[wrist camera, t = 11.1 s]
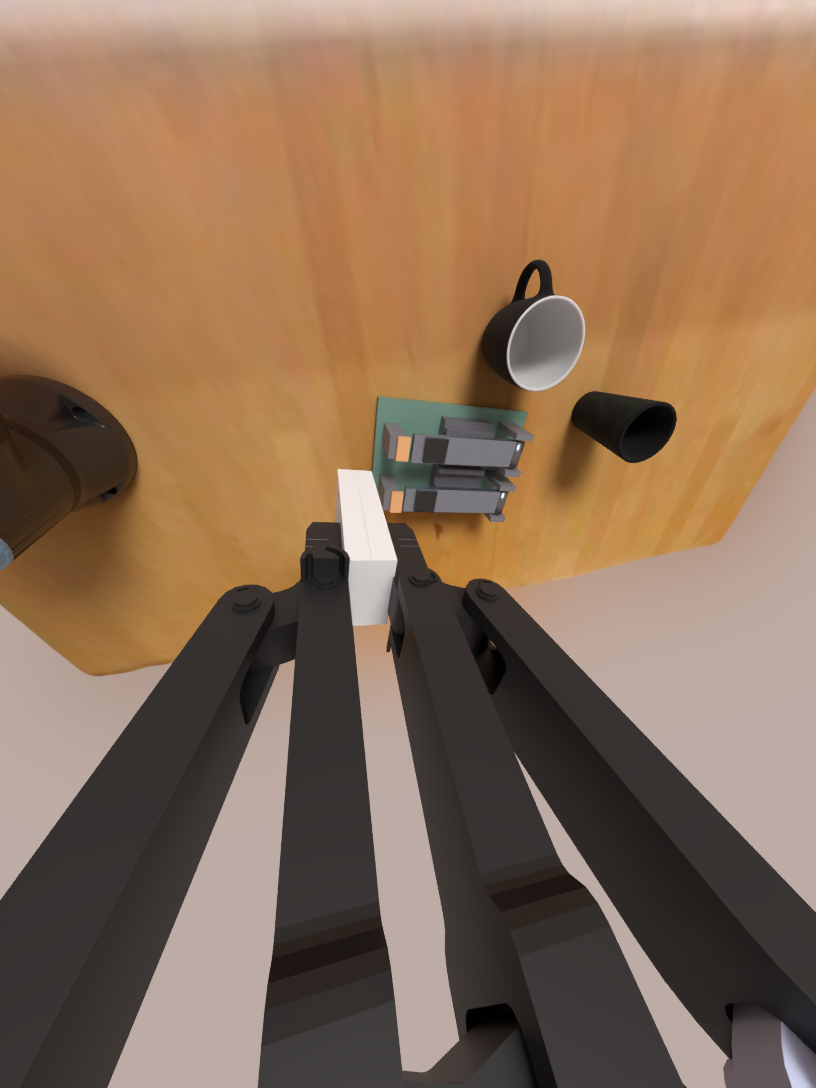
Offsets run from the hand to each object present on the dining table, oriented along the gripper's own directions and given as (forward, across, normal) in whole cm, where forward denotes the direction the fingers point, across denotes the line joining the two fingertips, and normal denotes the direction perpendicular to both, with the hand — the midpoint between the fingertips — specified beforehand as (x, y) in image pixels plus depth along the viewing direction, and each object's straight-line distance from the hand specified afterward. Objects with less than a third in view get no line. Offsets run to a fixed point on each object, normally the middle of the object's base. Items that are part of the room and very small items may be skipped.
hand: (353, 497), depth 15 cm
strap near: (+28, +18, -6) cm, 34 cm away
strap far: (+28, +18, -14) cm, 36 cm away
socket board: (+34, +17, -10) cm, 39 cm away
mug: (+34, +22, +8) cm, 41 cm away
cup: (+34, +39, 0) cm, 51 cm away
